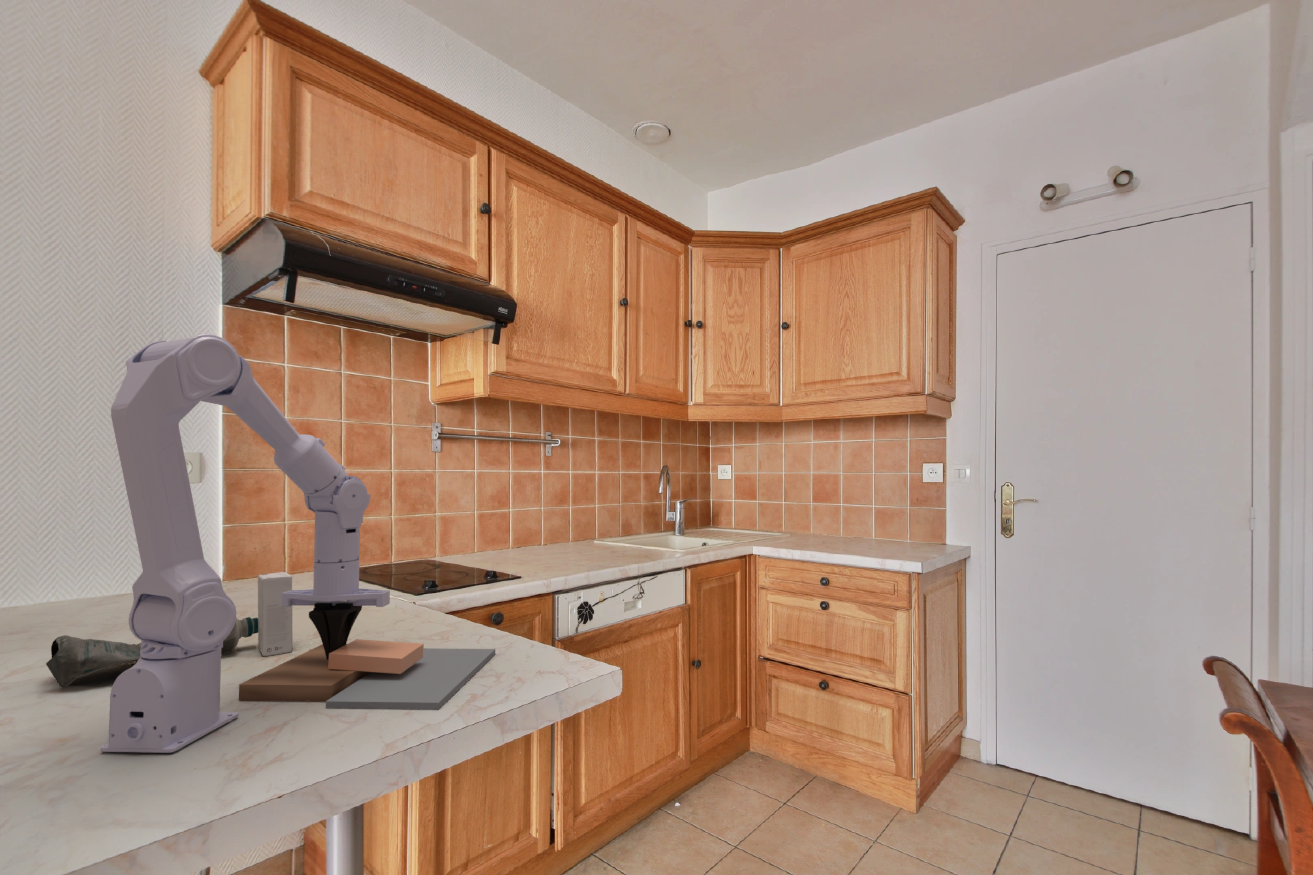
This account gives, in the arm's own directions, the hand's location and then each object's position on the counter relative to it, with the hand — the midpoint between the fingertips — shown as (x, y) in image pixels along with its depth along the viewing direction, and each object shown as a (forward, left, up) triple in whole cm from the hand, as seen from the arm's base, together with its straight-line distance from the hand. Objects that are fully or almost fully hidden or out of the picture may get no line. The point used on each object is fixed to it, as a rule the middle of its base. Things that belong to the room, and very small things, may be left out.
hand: (335, 657), depth 86 cm
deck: (0, +1, -3) cm, 3 cm away
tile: (0, -6, -1) cm, 6 cm away
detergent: (+4, +29, -3) cm, 30 cm away
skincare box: (+12, +17, -3) cm, 21 cm away
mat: (0, -12, -3) cm, 13 cm away
